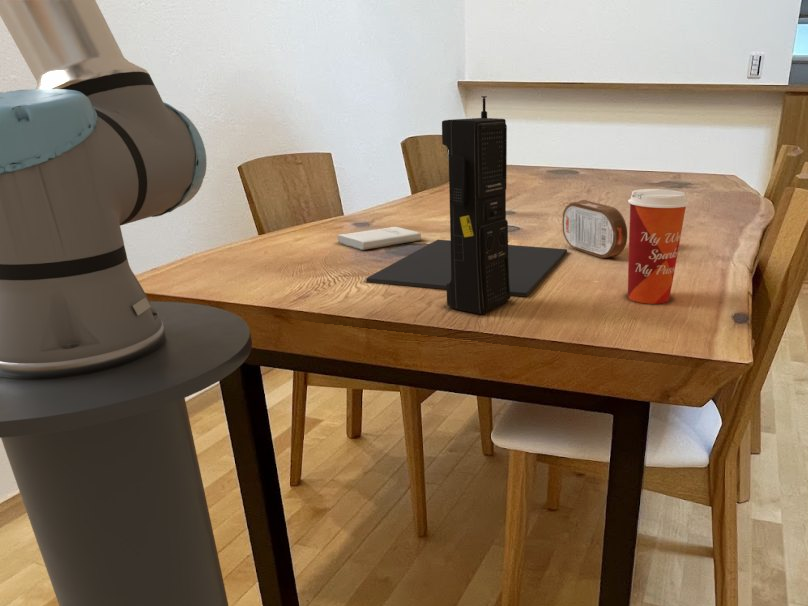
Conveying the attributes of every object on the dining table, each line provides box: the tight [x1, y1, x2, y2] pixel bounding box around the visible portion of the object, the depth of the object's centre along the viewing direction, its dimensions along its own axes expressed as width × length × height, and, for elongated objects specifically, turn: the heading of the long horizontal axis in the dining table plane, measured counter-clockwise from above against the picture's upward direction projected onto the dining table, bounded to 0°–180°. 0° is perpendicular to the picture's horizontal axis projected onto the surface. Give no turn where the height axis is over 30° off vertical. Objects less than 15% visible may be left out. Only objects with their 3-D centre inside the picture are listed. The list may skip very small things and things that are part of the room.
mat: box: [365, 239, 568, 298], centre depth 105 cm, size 24×28×1 cm
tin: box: [561, 199, 628, 259], centre depth 113 cm, size 15×3×8 cm, turn 32°
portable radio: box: [441, 95, 511, 315], centre depth 81 cm, size 8×6×25 cm
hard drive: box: [337, 226, 422, 251], centre depth 120 cm, size 2×8×12 cm
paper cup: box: [627, 188, 690, 305], centre depth 87 cm, size 8×8×14 cm
